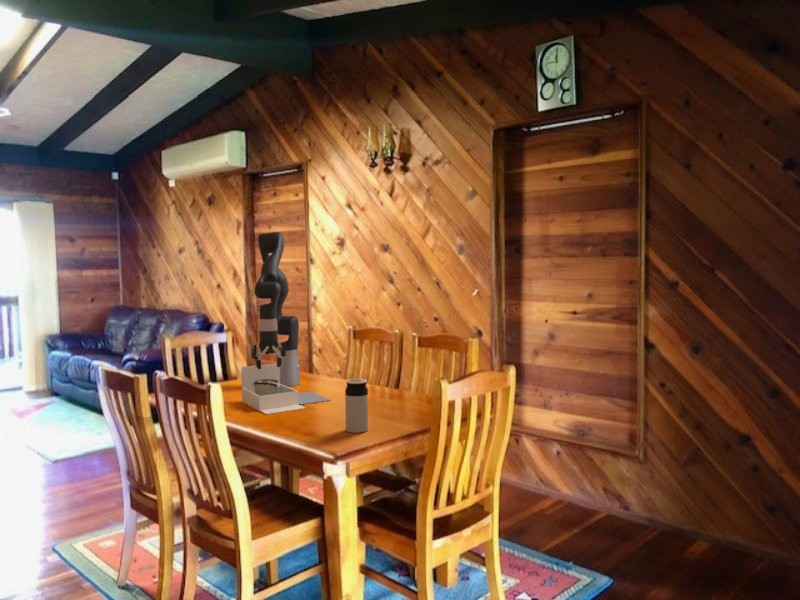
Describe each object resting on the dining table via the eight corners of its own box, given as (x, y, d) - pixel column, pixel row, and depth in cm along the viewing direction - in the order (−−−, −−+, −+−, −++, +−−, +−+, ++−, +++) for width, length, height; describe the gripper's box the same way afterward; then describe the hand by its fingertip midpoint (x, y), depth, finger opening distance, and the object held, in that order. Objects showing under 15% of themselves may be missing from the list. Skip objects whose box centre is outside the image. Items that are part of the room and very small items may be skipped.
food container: (286, 403, 272) (286, 380, 271) (277, 406, 266) (277, 382, 265) (262, 400, 277) (262, 377, 276) (253, 403, 271) (253, 380, 271)
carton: (279, 396, 285) (278, 363, 284) (305, 408, 262) (305, 372, 261) (242, 401, 275) (241, 367, 274) (266, 414, 253) (265, 376, 252)
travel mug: (344, 433, 225) (344, 382, 224) (346, 427, 233) (346, 378, 232) (367, 433, 225) (367, 382, 224) (368, 427, 233) (368, 378, 232)
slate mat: (310, 392, 293) (310, 391, 293) (330, 400, 276) (330, 399, 276) (281, 396, 285) (281, 395, 285) (300, 405, 268) (300, 404, 268)
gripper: (280, 327, 276) (281, 365, 277) (248, 329, 269) (249, 368, 270) (287, 329, 270) (288, 367, 271) (255, 331, 262) (255, 370, 263)
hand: (268, 368), depth 270 cm, fingers open, 8 cm apart
